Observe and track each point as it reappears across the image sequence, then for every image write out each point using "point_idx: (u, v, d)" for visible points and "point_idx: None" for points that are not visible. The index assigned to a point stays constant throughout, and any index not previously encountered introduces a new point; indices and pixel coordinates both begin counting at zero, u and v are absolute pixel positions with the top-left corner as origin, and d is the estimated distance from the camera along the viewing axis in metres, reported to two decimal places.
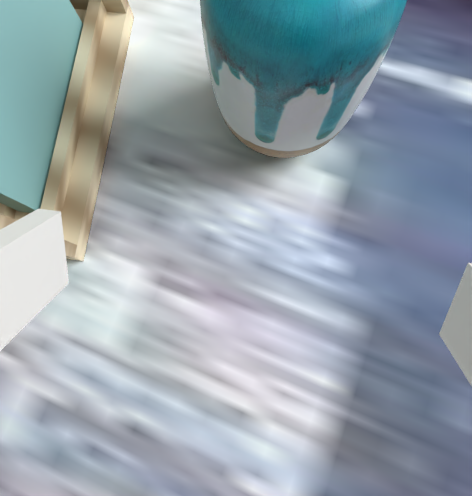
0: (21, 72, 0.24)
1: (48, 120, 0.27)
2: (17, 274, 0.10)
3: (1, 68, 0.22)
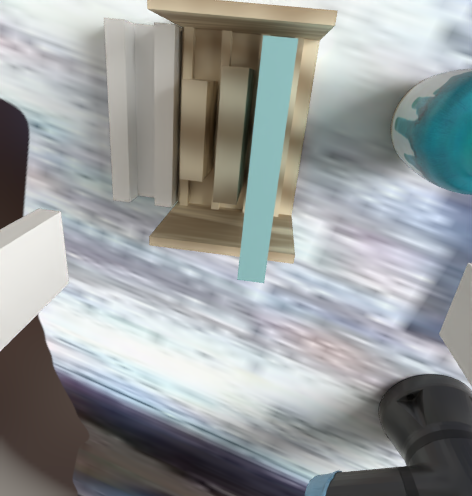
0: None
1: None
2: (17, 273, 0.10)
3: None
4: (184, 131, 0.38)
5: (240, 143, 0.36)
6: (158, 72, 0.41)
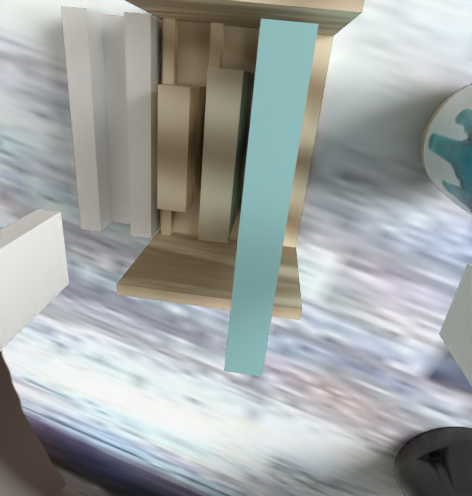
0: None
1: None
2: (17, 274, 0.10)
3: None
4: (162, 150, 0.30)
5: (232, 167, 0.28)
6: (131, 75, 0.32)
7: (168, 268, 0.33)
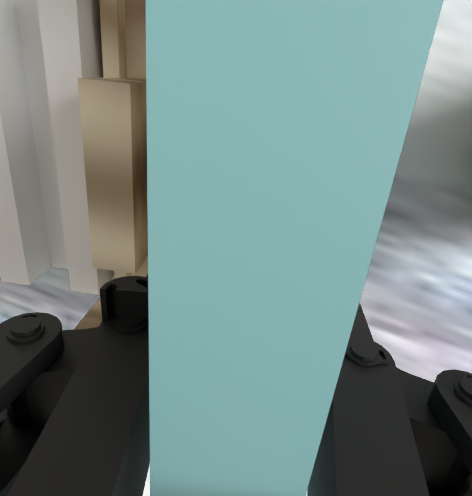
0: None
1: None
2: None
3: None
4: (92, 183, 0.19)
5: None
6: (52, 65, 0.21)
7: None
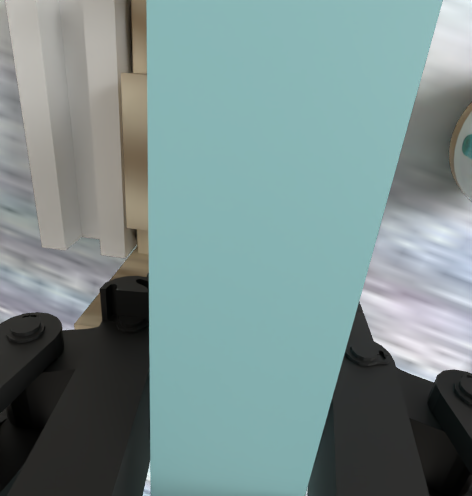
0: None
1: None
2: None
3: None
4: (129, 156, 0.24)
5: None
6: (93, 62, 0.26)
7: None
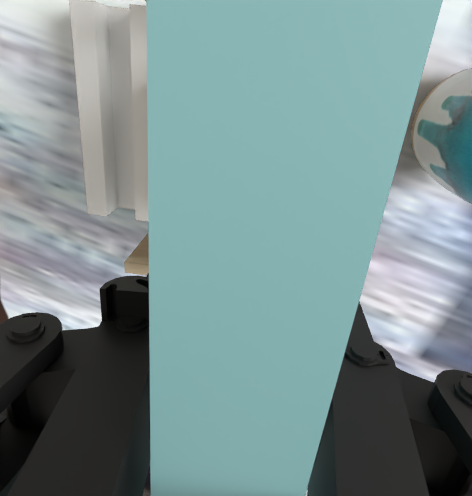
0: None
1: None
2: None
3: None
4: None
5: None
6: (136, 65, 0.34)
7: None
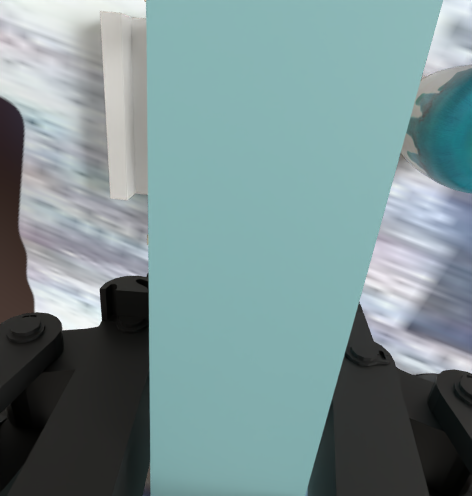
0: None
1: None
2: None
3: None
4: None
5: None
6: None
7: None
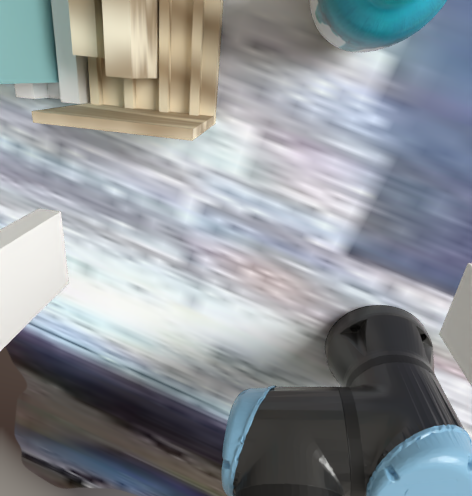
0: None
1: (51, 14, 0.40)
2: (17, 274, 0.10)
3: (19, 2, 0.35)
4: None
5: None
6: None
7: (84, 111, 0.37)
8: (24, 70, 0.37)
